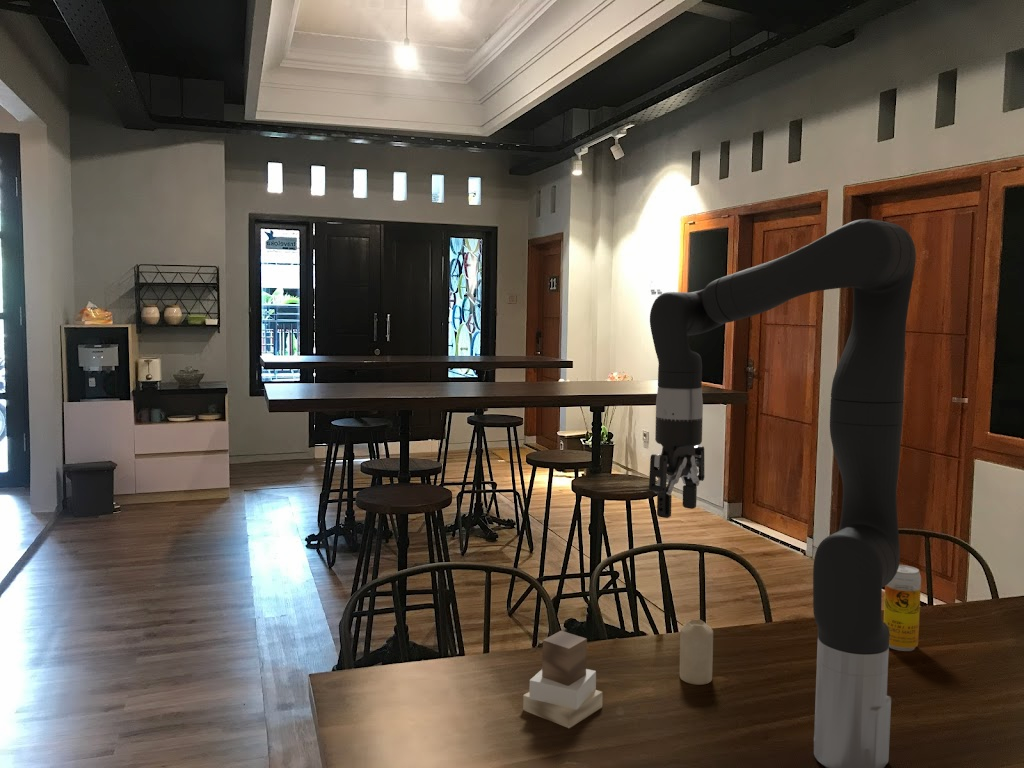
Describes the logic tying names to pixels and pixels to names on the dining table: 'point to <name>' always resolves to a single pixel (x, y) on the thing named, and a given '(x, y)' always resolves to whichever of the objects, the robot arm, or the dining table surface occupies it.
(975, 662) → the dining table surface
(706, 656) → the candle
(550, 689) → the slab upper
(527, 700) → the slab lower
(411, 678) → the dining table surface
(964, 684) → the dining table surface
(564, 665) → the walnut block
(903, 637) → the beer can
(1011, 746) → the dining table surface
